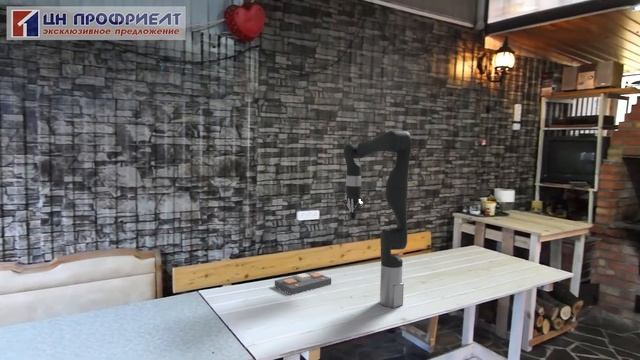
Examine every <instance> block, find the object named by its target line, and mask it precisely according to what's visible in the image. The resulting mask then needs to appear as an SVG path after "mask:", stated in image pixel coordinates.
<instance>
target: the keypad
mask: <svg viewBox="0 0 640 360" xmlns="http://www.w3.org/2000/svg"><path fill="white" fill-rule="evenodd" d="M304 273H305V274H308V275H309V274H312V273H316V271H310V272H304ZM290 278H292V279H294V280H296V275H292V276H287V277H284V278H280V279H275V280H274V287H275V286H276V287H275V288H277V287H278V288H277V289H279V288H280V289H279V290H281V289H282V290H281V291H283V290H284V291H283V292H285V291H286V292H285V293H287V292H288V293H287V294H289V293H290V294H289V295H291V296H293V295H296V293H297V294H300V293H304V292H308V291H311V289H312V290H314V289H318V288H319V289H320V288H322V287H327V286H330V285H332V278H331V277H329V276H326V275H324V274H323V277H321V278H317V279H314V278H312V277H311V280H308V281H304V282H301V281H299V280H296V281H297V283H296V284H292V285H287V284H284V283H283V280H286V279H290ZM307 290H308V291H307ZM303 291H304V292H303ZM292 294H293V295H292Z"/></svg>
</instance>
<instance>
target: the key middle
mask: <svg viewBox="0 0 640 360" xmlns="http://www.w3.org/2000/svg"><path fill="white" fill-rule="evenodd" d="M305 273H306V272H304V273H303V272H302V273H299V274H296V275H295V276H296V280H299V281H301V282H304V281H308V280H311V276H310V275H308V274H305Z"/></svg>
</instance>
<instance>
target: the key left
mask: <svg viewBox="0 0 640 360" xmlns="http://www.w3.org/2000/svg"><path fill="white" fill-rule="evenodd" d="M283 283H284V284H287V285H292V284H296V283H297V281H296V280H294V279H292V278H290V279H286V280H283Z"/></svg>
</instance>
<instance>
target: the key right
mask: <svg viewBox="0 0 640 360" xmlns="http://www.w3.org/2000/svg"><path fill="white" fill-rule="evenodd" d="M315 272H316V271H315ZM309 275H310V276H311V277H312V278H314V279H317V278H321V277H323V275H324V274H322V273H320V272H316V273H312V274H309Z"/></svg>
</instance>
